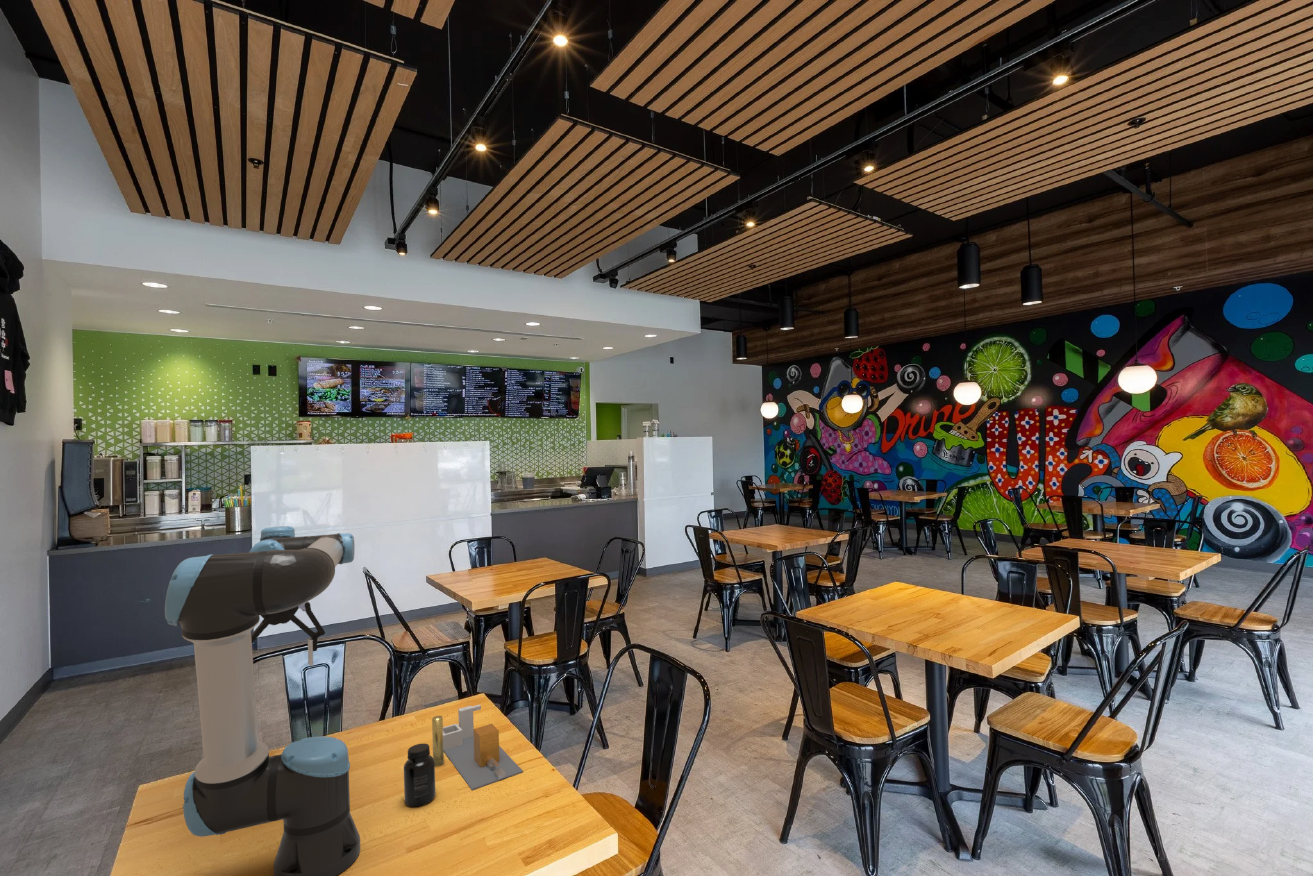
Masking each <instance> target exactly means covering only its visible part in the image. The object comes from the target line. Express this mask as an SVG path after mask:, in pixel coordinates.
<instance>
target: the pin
mask: <svg viewBox="0 0 1313 876" xmlns="http://www.w3.org/2000/svg"><path fill="white" fill-rule="evenodd" d="M443 718H444V716H442V715H435V716H433V717H432V718H431V726H432V727H431V728H432V732H431V733H432V757H433V758H434V763H435V767H436V768H437V767H441V766H443V765H444V763H445V762H444V761H445V759H444V757H445V756H444V754H445V753H444V751H443V727H444V723H443V722H444V721H443Z"/></svg>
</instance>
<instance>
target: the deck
mask: <svg viewBox="0 0 1313 876" xmlns="http://www.w3.org/2000/svg"><path fill="white" fill-rule="evenodd" d="M481 710H482V705H481V704H477V705H473V706H472V705H468V706H464V707H460V708H458V723H454V724H450V725H446V726H443V753H444V754H445V755H446V757H447V758H448V760H449V761H450V762H451V763H452V765H453V766H454V768H455V769H456V771H457V772H458V773H459V775H460V776H461V777H462V779H463V781H465V783H466V784H467V785H468V787H469V788H470V789H471V791H473V790H476V789H480V788H482V787H486V786H488V785H491V784H493V783H494V784H495V783H496V782H499V781H503V780H505V779H508V778H510V777H511V778H512V777H513V776H516V775H519V774H521V773H523V772H524V771H523V769H522V768H521V767H520V766H519V765H518V764H517V763H516V762H515V760H513V759H512V758H511V757H510V756H509V755H508V753H507V752H506V751H505V750H504V749H503V748H502V747H501V746H500V745H499V761H498V762H497V763H498V764H499V765H500V769H501V768H502V769H503V771H504V772H505V773H506V777H505V778H502V779H499V780H498V779H497V778H496V776H495V775H494V771H493V770H490V769H489V768H488V767H487V765H486V766H483V767H480V766H479V765H478V764H477V762H476V761H475V760H474V729H475V728H474V726H475V725H474V712H476V711H481Z"/></svg>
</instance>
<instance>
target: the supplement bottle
mask: <svg viewBox="0 0 1313 876" xmlns="http://www.w3.org/2000/svg"><path fill="white" fill-rule="evenodd" d="M403 787H404V788H403V789H404V795H403V796H404V803H405V805H406V806H408V807H412V808H417V807H422V806H425V805H428V804H429V803H430V802H432V801H433V800H434V799H435V797H436V794H437V793H436V770H435V763H434V758H433V755H431V751H430V745H429V744H428V743H424V742H423V743H417V744H414V745H412V746H410V747H409V748H408V749H407V760H406V761H405V762H404V765H403Z"/></svg>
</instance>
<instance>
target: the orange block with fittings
mask: <svg viewBox="0 0 1313 876" xmlns="http://www.w3.org/2000/svg"><path fill="white" fill-rule="evenodd" d="M499 736H500V731H499V728H497V727H496V726H495V725H494V724H493V723H489V724H486V725H483V726H479V727H476V728H474V760H475V761H476V762H477V764H478V765H479V766H480V767H483V766H486V765H487V767H488V768H489V769H490V770H493V771H494V775H495V776H496V778H497V779H498V780H499V779H502V778H505V777H506V773H505V772H504V771H503V769H502V768H501V769H500V765H499V764H498V763H497V762H498V761H499V746H500V737H499ZM505 779H506V778H505Z"/></svg>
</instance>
